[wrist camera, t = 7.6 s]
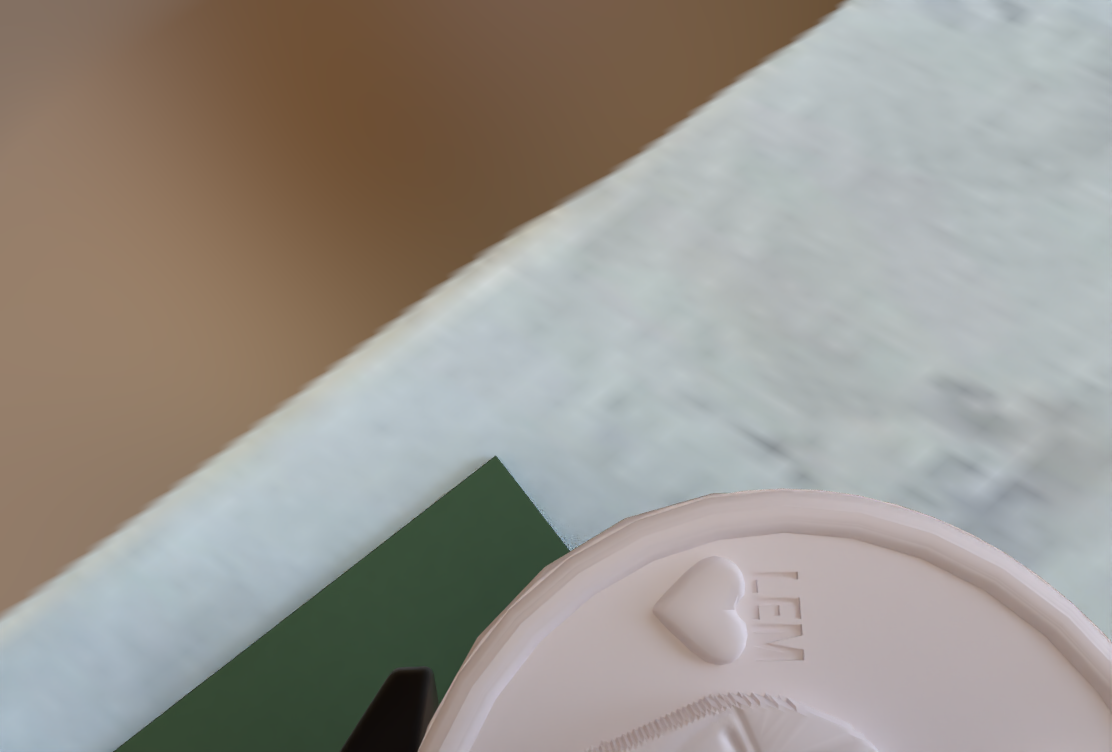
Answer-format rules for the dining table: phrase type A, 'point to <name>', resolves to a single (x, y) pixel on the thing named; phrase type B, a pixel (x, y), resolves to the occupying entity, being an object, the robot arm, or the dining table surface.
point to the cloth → (370, 628)
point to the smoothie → (783, 641)
